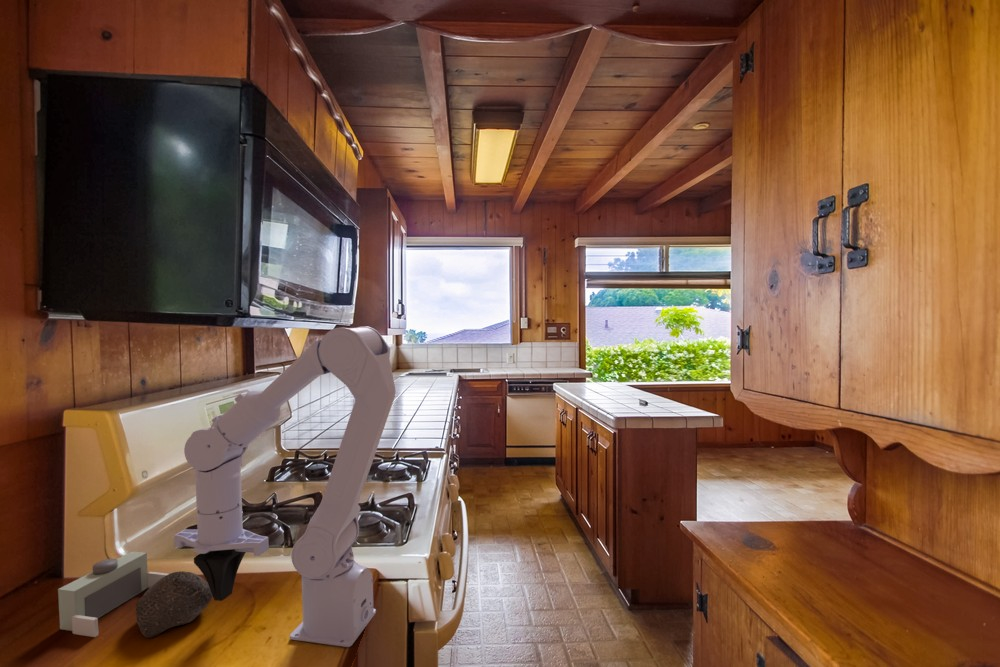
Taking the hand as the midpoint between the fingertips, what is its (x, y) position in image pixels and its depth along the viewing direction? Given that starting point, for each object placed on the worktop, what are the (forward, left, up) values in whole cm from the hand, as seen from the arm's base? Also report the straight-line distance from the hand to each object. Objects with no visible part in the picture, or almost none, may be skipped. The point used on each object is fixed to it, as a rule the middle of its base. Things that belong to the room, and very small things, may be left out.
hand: (223, 596), depth 70 cm
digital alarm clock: (+19, 0, -4) cm, 20 cm away
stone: (+8, 0, -4) cm, 9 cm away
